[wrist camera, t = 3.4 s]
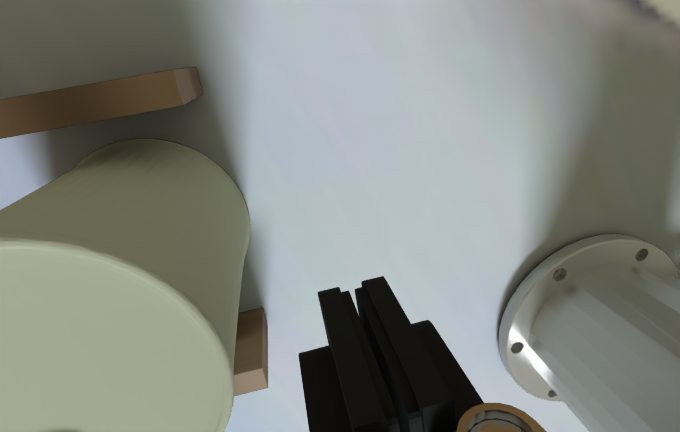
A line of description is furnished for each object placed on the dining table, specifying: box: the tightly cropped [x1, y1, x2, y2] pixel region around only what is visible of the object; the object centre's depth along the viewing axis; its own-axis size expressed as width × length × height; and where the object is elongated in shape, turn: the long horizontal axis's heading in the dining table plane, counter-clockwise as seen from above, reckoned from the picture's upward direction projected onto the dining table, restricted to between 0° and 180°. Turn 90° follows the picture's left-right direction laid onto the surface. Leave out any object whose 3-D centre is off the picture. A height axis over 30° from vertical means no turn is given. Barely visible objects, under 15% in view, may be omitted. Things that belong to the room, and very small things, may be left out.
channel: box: [0, 67, 268, 396], centre depth 18 cm, size 16×14×5 cm
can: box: [0, 139, 250, 432], centre depth 15 cm, size 9×9×12 cm
